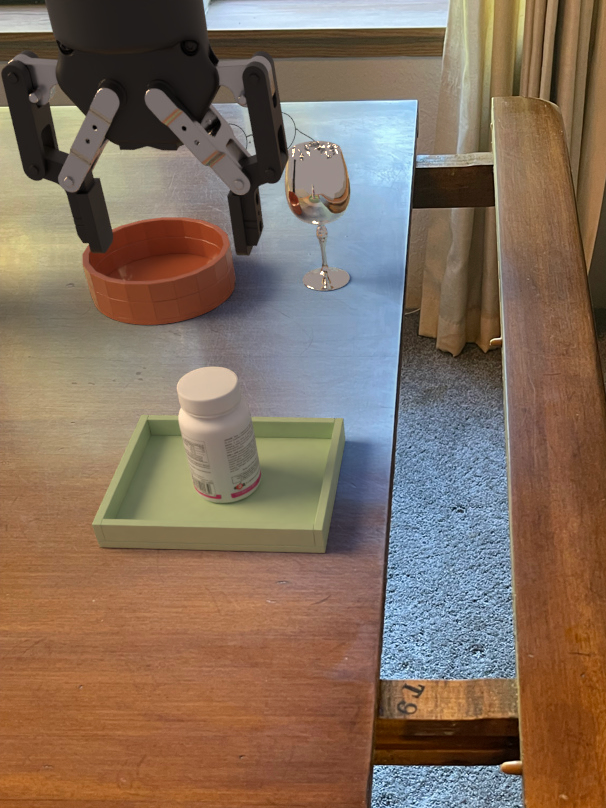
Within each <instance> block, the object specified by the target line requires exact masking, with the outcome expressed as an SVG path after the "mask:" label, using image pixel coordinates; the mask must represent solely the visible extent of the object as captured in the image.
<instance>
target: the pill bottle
mask: <svg viewBox="0 0 606 808" xmlns="http://www.w3.org/2000/svg"><path fill="white" fill-rule="evenodd" d="M176 392H177V397H178V402H179V405H180V409H179V411H178V420H179V426H180V430H181V434H182V439H183V443H184V447H185V452H186V456H187V460H188V464H189V468H190V472H191V476H192V481H193V484H194V487H195V490H196V492H197V493H198V494H199V495H200V496H201V497H202V498H203V499H205V500H208V501H211V502H216V503H229V502H235V501H239V500H241V499H244V498H246V497H248V496H249V495H251V494H252V493H253V492H254V491H255V490H256V489H257V487H258V486H259V484H260V481H261V469H260V463H259V457H258V451H257V446H256V439H255V434H254V429H253V423H252V418H251V417H252V413H251V407H250V405H249V403H248V401H247V400H246V399H245V398H244V397H243V395H242V394H243V393H242V388H241V385H240V379H239V377H238V375H237V374H236V372H234V371H233V370H232V369H229V368H226V367H222V366H215V365H214V366H204V367H198V368H196V369H193V370H191V371H189V372H187V373H186V374H184V375H183V376H182V377H181V378H180V379H179V380H178V382H177V384H176Z"/></svg>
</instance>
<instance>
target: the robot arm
mask: <svg viewBox="0 0 606 808" xmlns="http://www.w3.org/2000/svg"><path fill="white" fill-rule="evenodd" d="M44 3H45V6H46V10H47V15H48V18H49V19H48V20H49V23H50V27H51V31H52V34H53V37H54V39H55V41H56V45H57V49H58V50H57V51H58V53H57V54H58V56H57V59H52V58H40V57H39V56H38V55H37V54H36V53H35V52H33V51H32V50H28V49H26V50H23V51H21V52H20V53H19V54H17V55H15V56H14V57H13V58H12V59H10V60H9V61H8V62H7V64H6V65H5V66H3V68H2V69H1V73H0V76H1V80H2V84H3V85H2V86H3V89H4V94H5V97H6V101H7V106H8V110H9V114H10V120H11V123H12V127H13V132H14V136H15V141H16V144H17V148H18V153H19V158H20V161H21V166H22V170H23V173H24V174H25V175H26V177H27V178H29V179H30V180H32V181H36V182H39V181H42V180H46V181H48V182H52V183H54V184H57V185H58V186H60V188H61V189H62V190H64V192H65V194H66V197H67V200H68V204H69V208H70V212H71V216H72V220H73V223H74V226H75V231H76V235H77V236H78V238H79V239H80V241H81V243H82V244H88V245H89V247H90V250H91V252H92V253H106V252H107V250H108V248H109V247H110V245H111V244H112V242H113V231H112V229H113V227H112V223H111V219H110V214H109V211H108V206H107V203H106V198H105V194H104V190H103V186H102V183H101V177H94V172H93V171H94V169H95V167H96V165H97V163H98V162H99V159H100V157H101V155H102V153H103V151H104V150H105V148H106V146H107V145H108V144H109V142H110V143H112V144H113V145H116V146H118V147H119V151H136V150H139V149H143V148H146V147H147V148H152V149H156V150H160V151H169V152H170V151H171V152H174V151H178V149H179V148H180V147H182V146H185V147H186V148H187V149H188V151H189V152H190V153H192V155H193V157H195V158H196V159H197V160H198V161H199V163H200V164H202V165H203V166H205V167H209V168H210V169H211V170H212V171H213V172H214V173H215V175H217V176H218V178H219V179H220V180H221V181H222V182H223V184H225V185H226V186H227V188H228V189H229V191H228V193H227V195H226V197H227V204H228V210H229V217H230V218H229V219H230V223H231V224H230V225H231V231H232V232H231V233H232V237H233V244H234V252H235V255H236V256H240V257H242V256H244V257H249V256H250V255H251V253H252V250H253V248H254V247H257V246H258V244H259V242H260V239H261V237H262V234H263V231H264V227H265V226H264V220H263V219H264V218H263V211H262V203H261V193H260V188H259V187H261V186H263V185H265V184H269V185H274V184H277V183H278V182H280V180H281V178H282V176H283V174H284V172H285V167H286V164H287V162H288V159H289V154H288V150H289V149H288V143H287V137H286V129H285V124H284V118H283V113H282V112H283V110H282V105H281V99H280V98H281V97H280V92H279V85H278V79H277V73H276V67H275V61H274V59H273V57H272V56H271V54H270V53H269V52H267V51H263V50H259V51H256V52H255V53H254V54H253V55H252V57H251V58H250V59H249V58H248V59H234V60H219V57H218V56H217V55H216V54H215V51H214V50H213V48H212V45H211V43H210V39H209V32H208V25H207V18H206V11H205V4H204V0H44ZM57 85H58V87H59V89H60V90H61V91H62V92H63V93H64V95H65V96H66V97H67V98H68V99H69V100H70V101H71V102H72V103H73V104H74V105H75V106H76V108H77V109H78V110H79V111H80V112H81V113H82V114H83V115H84V116H85V117H84V119H83V122H82V123H81V126H80V127H79V130H78V132H77V133H76V136H75V138H74V140H73V141H72V144H71V146H70V148H69V153H68V152H65V151H62V150H60V148H59V143H58V138H57V134H56V128H55V124H54V118H53V114H52V109H51V103H50V101H51V100H52V99H53V98H54V97H55V95H56V86H57ZM221 87H225V88H227V89H228V90H230V92H231V93H232V96H233V98H234V101H235V103H237V105H239V106H240V107H242V108H247V114H248V118H249V123H250V130H251V134H252V135H253V136H252V135H251V136H252V140H253V145H254V151H255V152H254V153H255V154H253V155H251V154H250V152H249V151H248V150H246V147H245V146H244V145H243V144H242V143H241V141H240V140H239V139H238V138H237V137H236V135H235V134H234V133H235V132H234V130H233V128H232V126H231V124H229V122H228V121H227V120H226V119H225V118H224V117H223V115H222V114H221V113H220V112H219V111H218V109H216V107H215V106H214V105H213V102H214V99H215V97H216V96H217V94H218V93H219V91H220V88H221Z"/></svg>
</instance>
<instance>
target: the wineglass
mask: <svg viewBox="0 0 606 808" xmlns="http://www.w3.org/2000/svg"><path fill="white" fill-rule="evenodd" d="M288 154H289V159H288V162H287V164H286V166H285V169H284V192H285V198H286V202H287V203H286V204H287V206H288V208H289V210H290V212H291V213H292V214H293V216H295V218H297V219H298V220H299V221H301V222H303V223H306V224H308V225H313V226H317V227H316V233H315V235H316V238H317V240H318V244H319V246H320V247H319V248H320V253H321V254H320V255H321V267H318V268H313V269H312V270H309V271H307V272H306V273H305V274H304V276H303V277H302V283H303V285H304V287H306V288H308V289H310V290H313V291H319V292H326V291H334V290H338V289H340V288H343V287H345V286H346V285H347V284H348V283H349V282H350V280H351V278H350V277H351V276H350V274H349V273H348V272H347V271H346V270H345V269H342V268H339V267H335V266H334V267H333V266H329V264H328V259H327V257H328V256H327V239H328V234H329V232H328V229H327V227H326V226H325V225H329V224H331V223H334V222H336V221H338V220H339V219H341V218H342V217H343V216H344V215H345V213H346V212H347V210H348V208H349V206H350V202H351V188H352V187H351V179H350V174H349V171H348V165H347V162H346V160H345V157H344V153H343V150H342V147H341V146H340V145H338V144H337V143H335V142H331V141H328V140H327V141H326V140H315V141H313V140H309V141H304V142H300V143H297V144H295V145H292V146H290V147H289V149H288Z"/></svg>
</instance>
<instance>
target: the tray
mask: <svg viewBox="0 0 606 808" xmlns="http://www.w3.org/2000/svg"><path fill="white" fill-rule="evenodd" d="M178 415H179V414H178ZM178 415H177V414H176V415H172V414H141V415H140V417H139V419H138V420H137V423H136V425H135V428H134V429H133V432H132V434H131V437H130V439H129V441H128V443H127V446H126V447H125V450H124V452H123V454H122V456H121V459H120V461H119V463H118V466H117V467H116V470H115V472H114V474H113V476H112V479H111V480H110V483H109V485H108V487H107V489H106V491H105V494H104V496H103V498H102V500H101V502H100V505H99V507H98V510H97V511H96V514H95V516H94V518H93V520H92V523H91V527H92V529H93V532H94V536H95V539H96V541H97V544H98V547H99V548H108V549H109V548H112V549H113V548H115V549H149V550H150V549H152V550H153V549H155V550H188V551H189V550H192V551H225V552H226V551H228V552H234V551H235V552H236V551H237V552H264V553H265V552H268V553H269V552H271V553H304V554H305V553H309V554H310V553H312V554H325V553H326V549H327V546H328V545H327V544H328V540H329V534H330V528H331V522H332V516H333V512H334V505H335V499H336V493H337V489H338V483H339V478H340V471H341V466H342V462H343V455H344V451H345V444H346V431H345V420H344V418H343V417H305V416H304V417H303V416H300V417H299V416H297V417H296V416H293V417H292V416H251V418H252V423H253V429H254V434H255V439H256V446H257V451H258V457H259V463H260V469H261V481H260V484H259V486H258V487H257V489H256V490H255V491H254V492H253V493H252V494H251V495H249V496H248V497H246V498H244V499H241V500H239V501H235V502H229V503H216V502H211V501H208V500H205V499H203V498H202V497H201V496H200V495H199V494H198V493H197V492H196V490H195V487H194V484H193V481H192V476H191V472H190V468H189V464H188V460H187V456H186V452H185V447H184V443H183V439H182V434H181V430H180V426H179V420H178Z"/></svg>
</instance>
